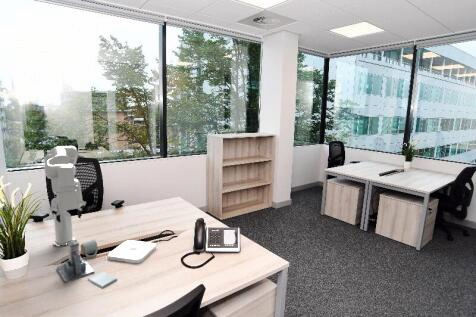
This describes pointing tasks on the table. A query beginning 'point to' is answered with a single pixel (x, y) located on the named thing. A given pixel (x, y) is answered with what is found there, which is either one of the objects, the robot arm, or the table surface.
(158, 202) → the table surface
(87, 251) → the ceramic mug
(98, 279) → the hard drive
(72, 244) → the column
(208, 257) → the table surface
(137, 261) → the computer
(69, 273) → the stand
